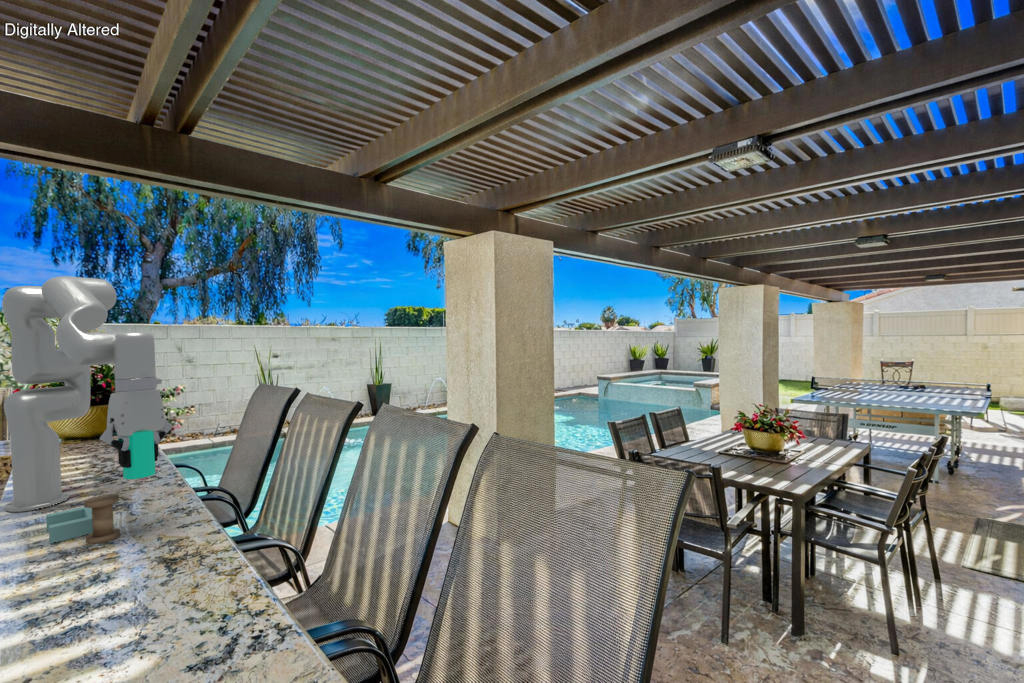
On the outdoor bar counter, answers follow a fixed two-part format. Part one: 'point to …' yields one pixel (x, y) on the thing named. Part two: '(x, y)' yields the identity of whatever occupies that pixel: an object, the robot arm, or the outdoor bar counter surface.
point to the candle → (141, 456)
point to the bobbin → (102, 518)
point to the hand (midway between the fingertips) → (139, 463)
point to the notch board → (69, 524)
